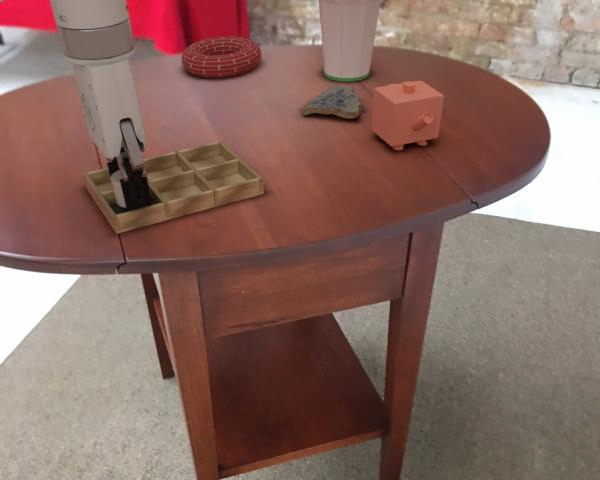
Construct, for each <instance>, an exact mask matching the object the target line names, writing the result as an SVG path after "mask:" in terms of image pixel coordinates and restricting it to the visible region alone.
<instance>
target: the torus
mask: <svg viewBox="0 0 600 480" xmlns="http://www.w3.org/2000/svg"><path fill="white" fill-rule="evenodd" d="M261 59H262V50H261V47H260V46H259V44H258V43H256V42H255V41H254V40H252V39H249V38H246V37H242V36H216V37H211V38H210V37H209V38H204V39H201V40H198V41H196V42H193V43H191V44H190V45H188V46H187V47H186V48H185V49H184V50H183V52H182V55H181V65H182V66H183V68H184V69H185V70H186V71H187V72H188V73H190V74H191V75H195V76H198V77H202V78H228V77H234V76H237V75H241V74H244V73H247V72H249V71H251V70H252V69H254V68H255V67H256V66H257V65H258V64H259V63H260V61H261Z"/></svg>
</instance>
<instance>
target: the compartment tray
mask: <svg viewBox="0 0 600 480" xmlns="http://www.w3.org/2000/svg"><path fill="white" fill-rule="evenodd" d="M143 160H144V163H145V166H144V167H145V171H146V174H147V178H148V183H149V188H150V193H151V200H152V205H151V206H148V207H144V208H140V209H136V210H132V211H128V210H127V208H124V207H121V206H119V205H118V204H117V203H116V199H115V195H114V191H113V187H112V183H111V178H110V174H109V170H108V167H104V168H101V169H97V170H91V171H87V172H83V173H82V176H83V179H84V184H85V187H86V190H87V191H88V193H89V194H90V196H91V197H92V199H93V200H94V202H95V204H96V205H97V206H98V208H99V210H100V211H101V212H102V214H103V216H104V218H105V219H106V220H107V221H108V223H109V225H110V226H111V228H112V229H113V231H114V232H115V234H116V235H118V234H122V233H125V232H129V231H133V230H137V229H141V228H143V227H148V226H151V225H155V224H159V223H162V222H167V221H169V220H174V219H177V218H181V217H185V216H188V215H191V214H195V213H199V212H202V211H206V210H210V209H214V208H217V207H221V206H225V205H228V204H232V203H235V202H240V201H243V200H247V199H251V198H255V197H258V196H261V195H262V196H263V195H264V194H265V188H264V178H263V177H262V176H261V175H260V174H259V173H257V171H256V170H254V169H253V168H252V167H251V166H250V165H249V164H248V163H247V162H245V161H244V159H242V158H241V157H240V156H239V155H238V154H236V152H235V151H233V150H232V149H231V148H230V147H229V146H228V145H227V144H226V143H225V142H223V141H222V140H219V141H214V142H211V143H205V144H202V145H196V146H193V147H189V148H185V149H179V150H177V151H172V152H169V153H163V154H160V155H156V156H151V157H147V158H143Z"/></svg>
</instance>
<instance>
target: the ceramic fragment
mask: <svg viewBox="0 0 600 480" xmlns="http://www.w3.org/2000/svg"><path fill="white" fill-rule="evenodd" d="M362 109H363V108H362V103H361V102H360V101H359V99H358V96H357V93H356V91H355V89H354V87H353V86H344V85H341V84H337V85H332V86H329V87H328V88H327V89H325V90H324V91H322V92H321V93H320V94H319V95H317V96H316V97H315V98H314V99H312V100H311V102H309V103H308V104H307V105H306V106H305V108H303V110H302V115H303V116H308V115H311V114H321V115H335V116H337V117H340V118H342V119H343V118H344V119H356V118H358V117H360V116H361V113H362Z"/></svg>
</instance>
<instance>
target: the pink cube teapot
mask: <svg viewBox="0 0 600 480" xmlns="http://www.w3.org/2000/svg"><path fill="white" fill-rule="evenodd" d="M444 99H445V96H444V94H442V93H441V92H439V91H438V90H436V89H435V88H433V87H432V86H431V85H429V84H427V83H426V82H424V81H423V80H413V81H411V80H408V81H403V82H402V83H401V82H400V83H398V84H397V83H389V84H386V85H384V86H383V85H382V86H377V87H374V88H373V98H372V114H371V131H372V132H374V134H375V135H377V136H378V137H379V138H380V139H381V140H383V141H384V142H385V143H386V144H387V145H389V146H390V147H391V148H392V149H393V150H395V151H401V150H404V147H405V145H407V144H412V143H415V144H416V145H417V146H422V147H423V146H426V145H428V141H429V140H433V139H438V138H439V134H440V128H441V121H442V113H443V106H444Z"/></svg>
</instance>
